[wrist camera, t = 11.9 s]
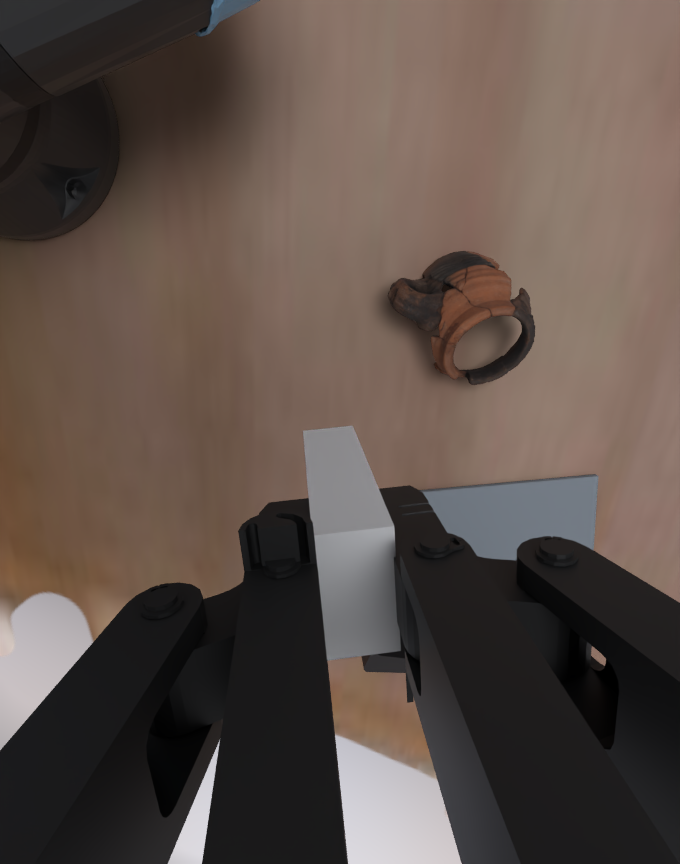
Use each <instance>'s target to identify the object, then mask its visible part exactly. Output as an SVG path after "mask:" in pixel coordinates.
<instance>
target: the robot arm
mask: <svg viewBox="0 0 680 864" xmlns="http://www.w3.org/2000/svg"><path fill="white" fill-rule="evenodd" d="M258 1H260V0H0V236H1V237H6V238H11V239H18V240H39V239H46V238H51V237H55V236H58V235H61V234H64V233H66V232H68V231H70V230H72V229H74V228H76V227H77V226H79V225H80V224H82V223H83V222H84V221H86V220H87V219H88V218H89V217H90V216H91V215H92V214H93V213H94V212H95V211H96V210H97V209H98V208H99V206H100V205H101V203H102V202H103V201H104V199H105V197H106V196H107V194H108V192H109V190H110V188H111V185H112V183H113V180H114V177H115V174H116V170H117V165H118V159H119V130H118V123H117V118H116V114H115V110H114V107H113V104H112V101H111V98H110V96H109V93H108V91H107V89H106V87H105V84H104V82H103V81H102V79H101V76H103V75H106V74H108V73H110V72H112V71H114V70H117V69H119V68H121V67H123V66H125V65H127V64H130V63H132V62H134V61H136V60H138V59H140V58H143V57H145V56H147V55H149V54H151V53H154V52H156V51H158V50H160V49H162V48H164V47H167V46H169V45H171V44H173V43H175V42H178V41H180V40H182V39H184V38H186V37H188V36H191V35H193V34H196V35H197V36H199V37H201V36H205V35H207V34H209V33H210V32H211V31H212V30H213V29H214V28H215V27H216V26H217V24H218V23H219V22H221V21H223V20H225V19H227V18H228V17H230V16H232V15H234V14H236V13H238V12H240V11H242V10H244V9H246V8H248V7H249V6H251V5H253V4H255V3H257V2H258ZM303 437H304V448H305V460H306V472H307V483H308V495H309V498H306V499H297V500H288V501H279V502H270V503H268V504H267V505H266V506H265V507H264V509H263V510H262V511H261V512H260V513H259V515H258V516H255V517H253V518H250V519H249V520H248V521H246V522H245V523H243V524H242V526H241V527H240V529H239V531H238V532H239V538H240V545H241V552H242V558H243V565H244V571H245V572H244V579H243V582H242V583H241V584H239V585H238V586H236V587H234V588H233V589H231V590H229V591H226V592H224V593H221V594H219V595H216V596H212V597H209V598H206V599H203V596H202V594H201V591H200V589H198V588H197V587H195V586H193V585H192V584H185V583H170V584H169V583H166V584H161V585H160V586H158V585H157V586H155V587H152V588H150V589H148V590H146V591H144V592H142V593H140V594H138V595H136V596H135V597H134V598H133V599H132V600H131V601H129V602H128V603H127V604H126V605H125V606H124V607H123V608H122V610H121V611H120V612H119V613H118V614H117V615H116V617H115V618H114V619H113V620H112V621H111V622H110V624H109V625H108V626H107V627H106V628H105V629H104V631H103V632H102V633H101V634H100V635H99V636H98V638H97V639H96V640H95V641H94V642H93V643H92V645H91V646H90V647H89V648H88V649H87V650H86V651H85V653H84V654H83V655H82V656H81V657H80V659H79V660H78V661H77V662H76V663H75V664H74V666H73V667H72V668H71V669H70V670H69V671H68V672H67V674H66V675H65V676H64V677H63V678H62V680H61V681H60V682H59V683H58V684H57V685H56V686H55V688H54V689H53V690H52V691H51V692H50V693H49V695H48V696H47V697H46V698H45V699H44V700H43V701H42V703H41V704H40V705H39V706H38V707H37V709H36V710H35V711H34V712H33V713H32V714H31V715H30V717H29V718H28V719H27V720H26V721H25V723H24V724H23V725H22V726H21V727H20V728H19V729H18V731H17V732H16V733H15V734H14V735H13V736H12V738H11V739H10V740H9V741H8V742H7V743H6V745H5V746H4V747H3V748H2V749H1V750H0V864H168V861H169V859H170V856H171V854H172V852H173V849H174V847H175V845H176V842H177V840H178V837H179V835H180V833H181V830H182V828H183V825H184V823H185V821H186V818H187V816H188V814H189V811H190V809H191V806H192V804H193V802H194V799H195V797H196V794H197V792H198V790H199V787H200V785H201V783H202V780H203V778H204V776H205V773H206V771H207V768H208V766H209V764H210V761H211V759H212V756H213V754H214V752H215V749H216V747H217V744H218V742H219V740H220V745H219V752H218V758H217V765H216V772H215V779H214V786H213V792H212V799H211V806H210V814H209V820H208V828H207V834H206V841H205V848H204V854H203V861H202V864H348V859H347V850H346V839H345V830H344V821H343V810H342V800H341V790H340V781H339V771H338V761H337V751H336V742H335V731H334V721H333V711H332V702H331V692H330V682H329V672H328V663H327V661H328V660H335V659H343V658H350V657H358V656H366V655H373V654H381V653H389V652H396V651H401V643H400V633H401V636H402V639H403V643H404V646H405V665H406V685H407V703H408V702H413V696H414V700H415V703H416V707H417V710H418V714H419V717H420V721H421V724H422V728H423V731H424V734H425V738H426V741H427V745H428V748H429V752H430V755H431V759H432V762H433V766H434V769H435V772H436V776H437V779H438V783H439V786H440V790H441V793H442V797H443V800H444V804H445V807H446V811H447V814H448V817H449V821H450V824H451V828H452V831H453V835H454V838H455V842H456V845H457V849H458V852H459V855H460V859H461V862H462V864H680V603H679V602H677V601H676V600H674V599H672V598H671V597H669V596H667V595H666V594H664V593H662V592H661V591H659V590H658V589H656V588H654V587H653V586H651V585H649V584H648V583H646V582H644V581H643V580H641V579H639V578H638V577H636V576H634V575H633V574H631V573H630V572H628V571H626V570H625V569H623V568H621V567H620V566H618V565H616V564H615V563H613V562H611V561H610V560H608V559H606V558H605V557H603V556H602V555H600V554H598V553H597V552H595V551H593V550H592V549H590V548H588V547H587V546H584V545H582V544H580V543H578V542H576V541H573V540H568V539H564V538H562V537H556V536H553V537H551V536H543V537H538V538H531V539H529V540H527V541H525V542H522V543H521V544H520V546H519V547H518V548H517V560H502V559H491V558H483V557H479V556H477V555H476V553H475V552H474V550H473V549H472V547H471V546H470V544H469V543H467V542H466V541H465V540H464V539H463V538H461V537H458V536H456V535H454V534H450V533H447V531H446V530H445V528H444V526H443V525H442V523H441V521H440V520H439V518H438V516H437V515H436V513H435V512H434V510H433V508H432V507H431V505H430V504H429V502H428V500H427V498H426V497H425V495H424V493H422V492H421V491H419V490H417V489H415V488H414V487H412V486H401V487H392V488H383V489H379V488H378V486H377V483H376V481H375V478H374V476H373V474H372V471H371V469H370V466H369V464H368V462H367V459H366V457H365V454H364V452H363V449H362V447H361V445H360V442H359V440H358V437H357V435H356V433H355V430H354V428H353V426H345V427H335V428H325V429H316V430H306V431H303ZM592 646H593V647H594V648H595V649H597V650H598V651H599V652H600V653H601V654H602V655H603V656H604V657H605V658H606V664H605V666H603V665H602V664H600V663H599V662H598V661H596V660H595V659H594V658H593V657H592V656H591V648H592Z"/></svg>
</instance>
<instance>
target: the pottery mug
mask: <svg viewBox="0 0 680 864" xmlns="http://www.w3.org/2000/svg"><path fill="white" fill-rule="evenodd" d="M498 268H499V265H498V264H497V263H496V262H495V261H494V260H493V259H491V258H489V257H485V256H482V255H480V254H478V253H474V252H466V251H460V252H454V253H450V254H448V255H446V256H443V257H441V258H439V259H437V260H436V261H435V262H434V263H433V264H432V265H430V266H429V267H428V268H427V269H426V270H425V271H424V273H423V275H424V277H425V278H424V279H420V280H410V279H405V278H401V279H399V280H398V281H397V282H395V283H394V284H392V286H391V288H390V291H389V293H388V298H389V300H390V303H391V305H392V307H393V308H394V309H395V310H396V311H397V312H398V313H400V314H402V315H403V316H405V317H407V318H409V319H411V320H414V321H416V323H417V325H418V327H419V328H420V329H423V330H426V331H433V330H434V329H436V327H437V326H439V336H438V335H433V336H432V337H431V345H432V352H433V356H434V358H435V361H436V362H435V364H434V365H435V368H436V369H438V370H439V371H440V372H441V373H444V374H447V375H449V376H450V377H451V378H452V379H454V380H455V379H456V378H458V377H467V379H468V381H469V383H470V384H472V385H477V384H483V383H486V382H490V381H493V380H496V379H498V378H500V377H502V376H503V375H505V374H507V373H508V371H510V370H512V369H513V368H515V367H516V366H518V364H519V363H520V362H521V361H522V360H523V359H524V358H525V357H526V355H527V354H528V352H529V351H530V349H531V347H532V344H533V342H534V337H535V325H534V320H533V315H531V307H530V297H529V295H528V293H527V292H526V290H525V289H523V288H521V289H520V290H519V295H518V296H517V297H516V298H515V299H512V300H511V301H510V296H511V279H510V278H509V277H508V276H507V274H506V273H505V272H504V271H501V270H498ZM443 285H447V286H449V287H452V289H449V290H447V291H446V292H444V293H443V291H441V290H442V287H443ZM495 316H513V317H515V318H517V319H518V320H519V321H520V322H521V325H522V333H521V335H520V337H519V339H518V340H517V342H516V343H515V344H514V345H513V346H512V347H511V348H510V350H509V351H508V352H507V353H506V354H505V355H504V356H501V357H500V358H498V359H497V360H495V361H494V362H492V363H490V364H488V365H486V366H484V367H482V368H478V369H472V370H458V368H457V367H456V366H455V365H454V363H453V354H454V350H455V346H456V343H457V342H458V341H459V340H460V338H461V337H462V336H463V335H464V334H465V333H466V332H467V331H468V330H469V329H470V328H472V327H473V326H474V325H476V324H477V323H479V322H481V321H483V320H485V319H488V318H490V317H495Z"/></svg>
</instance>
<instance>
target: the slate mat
mask: <svg viewBox="0 0 680 864" xmlns="http://www.w3.org/2000/svg"><path fill="white" fill-rule="evenodd" d="M597 487H598V476H597V475H596V474H593V475H582V476H571V477H560V478H549V479H539V480H528V481H517V482H506V483H495V484H484V485H473V486H462V487H451V488H440V489H429V490H419V491H421V492H422V493H424V495H425V497H426V498H427V500H428V502H429V504H430V505H431V507H432V508H433V510H434V512H435V513H436V515H437V516H438V518H439V520H440V521H441V523H442V525H443V526H444V528H445V530H446V531H447V533H450V534H454V535H456V536H458V537H461V538H463V539H464V540H465V541H466V542H467V543H469V544H470V546H471V547H472V549H473V550H474V552H475V553H476V555H477V556H479V557H483V558H491V559H502V560H517V548H518V547H519V546H520V544H521V543H522V542H525V541H527V540H529V539H531V538H538V537H543V536H551V537H553V536H556V537H562V538H564V539H568V540H573V541H576V542H578V543H580V544H582V545H584V546H587V547H588V548H590V549H592V550H593V548H594V533H595V518H596V502H597Z"/></svg>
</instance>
